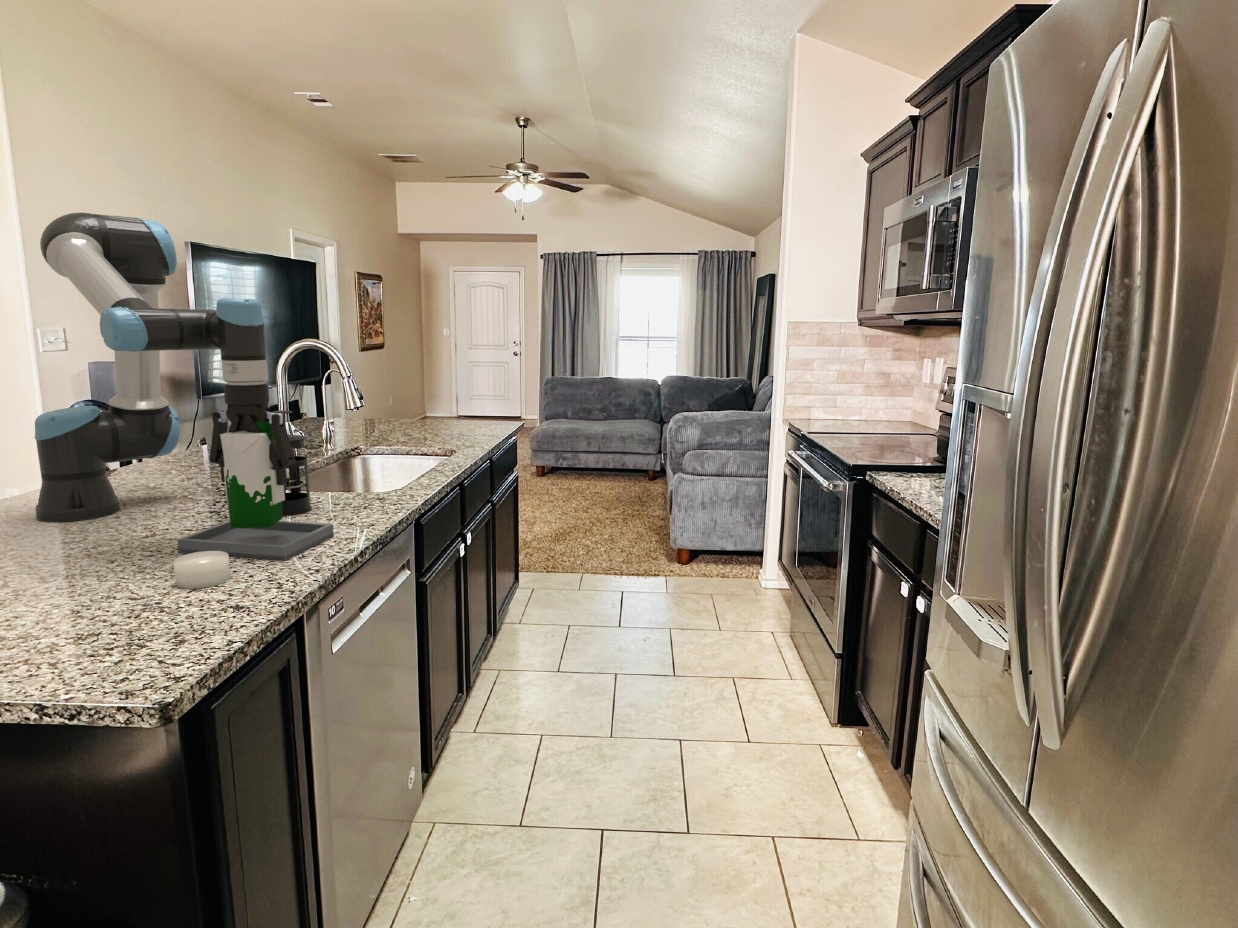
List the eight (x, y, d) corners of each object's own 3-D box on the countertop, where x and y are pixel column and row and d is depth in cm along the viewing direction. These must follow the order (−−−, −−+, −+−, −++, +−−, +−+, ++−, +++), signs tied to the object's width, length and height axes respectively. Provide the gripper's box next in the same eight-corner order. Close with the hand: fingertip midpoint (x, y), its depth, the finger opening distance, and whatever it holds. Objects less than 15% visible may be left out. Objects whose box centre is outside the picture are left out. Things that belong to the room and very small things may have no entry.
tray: (178, 552, 138) (177, 539, 138) (236, 529, 154) (235, 517, 153) (285, 560, 135) (284, 547, 134) (333, 536, 150) (332, 524, 150)
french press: (304, 516, 165) (297, 413, 161) (259, 517, 164) (251, 413, 159) (318, 503, 176) (312, 407, 172) (277, 504, 175) (269, 407, 171)
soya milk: (272, 528, 139) (264, 423, 136) (222, 529, 139) (213, 423, 135) (289, 517, 148) (281, 417, 144) (242, 517, 147) (233, 417, 143)
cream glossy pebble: (164, 587, 121) (161, 563, 120) (199, 571, 129) (197, 549, 128) (207, 590, 120) (205, 567, 119) (241, 574, 127) (239, 552, 127)
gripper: (179, 383, 137) (191, 501, 141) (286, 386, 133) (295, 507, 137) (208, 380, 144) (218, 493, 148) (310, 382, 140) (318, 498, 144)
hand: (255, 500), depth 142 cm, fingers closed on soya milk, 9 cm apart
